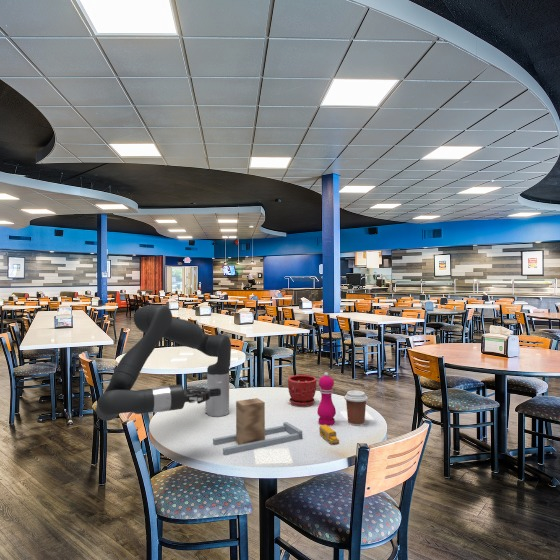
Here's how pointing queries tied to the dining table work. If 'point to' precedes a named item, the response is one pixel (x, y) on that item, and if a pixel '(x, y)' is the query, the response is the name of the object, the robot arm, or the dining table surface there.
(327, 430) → the toy bus
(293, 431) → the trap channel
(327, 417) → the pepper mill
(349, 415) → the coffee cup
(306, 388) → the plant pot
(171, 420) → the dining table surface
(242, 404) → the walnut block
